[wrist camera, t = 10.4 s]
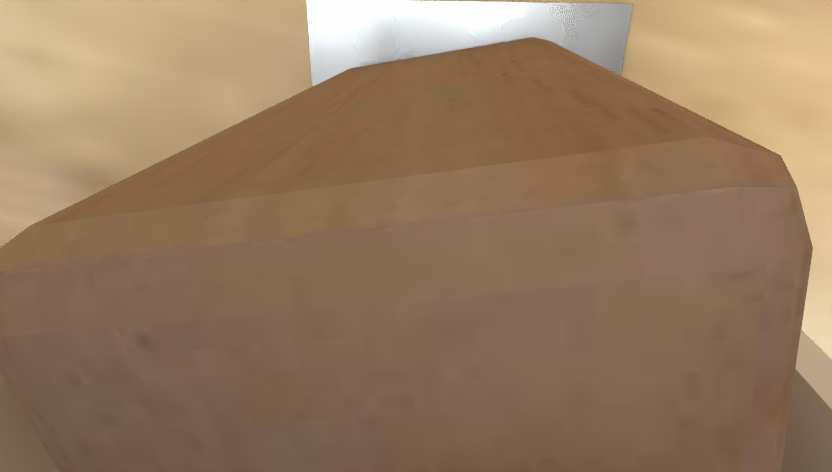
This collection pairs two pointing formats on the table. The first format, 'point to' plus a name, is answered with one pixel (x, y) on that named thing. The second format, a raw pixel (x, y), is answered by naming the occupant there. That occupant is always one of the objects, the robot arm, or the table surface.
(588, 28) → the press
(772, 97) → the table surface
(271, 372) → the wooden block
